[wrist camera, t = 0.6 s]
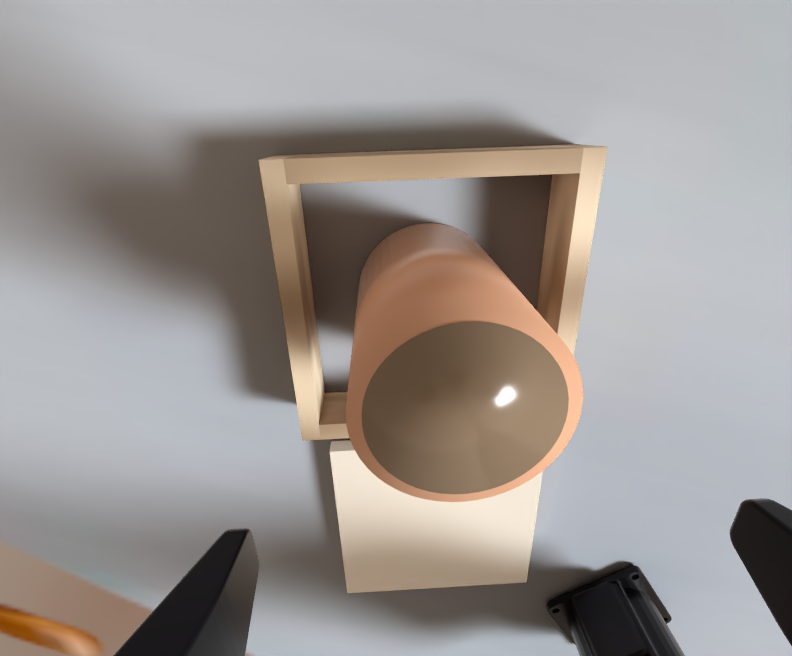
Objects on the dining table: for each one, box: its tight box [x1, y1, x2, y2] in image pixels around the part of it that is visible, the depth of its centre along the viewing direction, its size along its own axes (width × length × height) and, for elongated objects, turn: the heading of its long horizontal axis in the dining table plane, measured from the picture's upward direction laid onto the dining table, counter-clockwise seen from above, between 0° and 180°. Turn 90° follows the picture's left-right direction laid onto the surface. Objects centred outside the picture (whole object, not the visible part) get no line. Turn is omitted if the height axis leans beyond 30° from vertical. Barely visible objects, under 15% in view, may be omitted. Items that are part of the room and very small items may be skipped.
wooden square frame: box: [259, 144, 607, 440], centre depth 18 cm, size 12×12×2 cm
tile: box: [330, 440, 543, 593], centre depth 24 cm, size 11×11×1 cm
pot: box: [345, 223, 583, 502], centre depth 15 cm, size 6×6×9 cm
